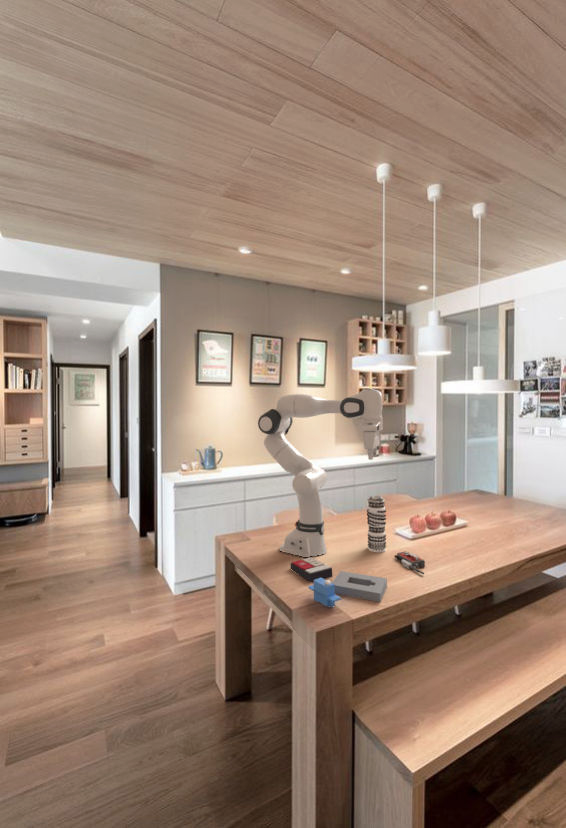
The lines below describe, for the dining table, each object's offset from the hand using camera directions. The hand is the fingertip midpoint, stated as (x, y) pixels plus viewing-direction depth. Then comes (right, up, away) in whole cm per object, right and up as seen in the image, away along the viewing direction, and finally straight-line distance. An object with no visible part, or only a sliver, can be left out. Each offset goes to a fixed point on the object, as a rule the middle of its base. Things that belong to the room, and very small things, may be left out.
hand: (372, 458), depth 169 cm
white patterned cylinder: (+6, -46, +17) cm, 49 cm away
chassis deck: (-10, -46, -24) cm, 53 cm away
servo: (-24, -47, -33) cm, 62 cm away
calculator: (-27, -47, -8) cm, 55 cm away
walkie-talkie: (+17, -46, -3) cm, 49 cm away
